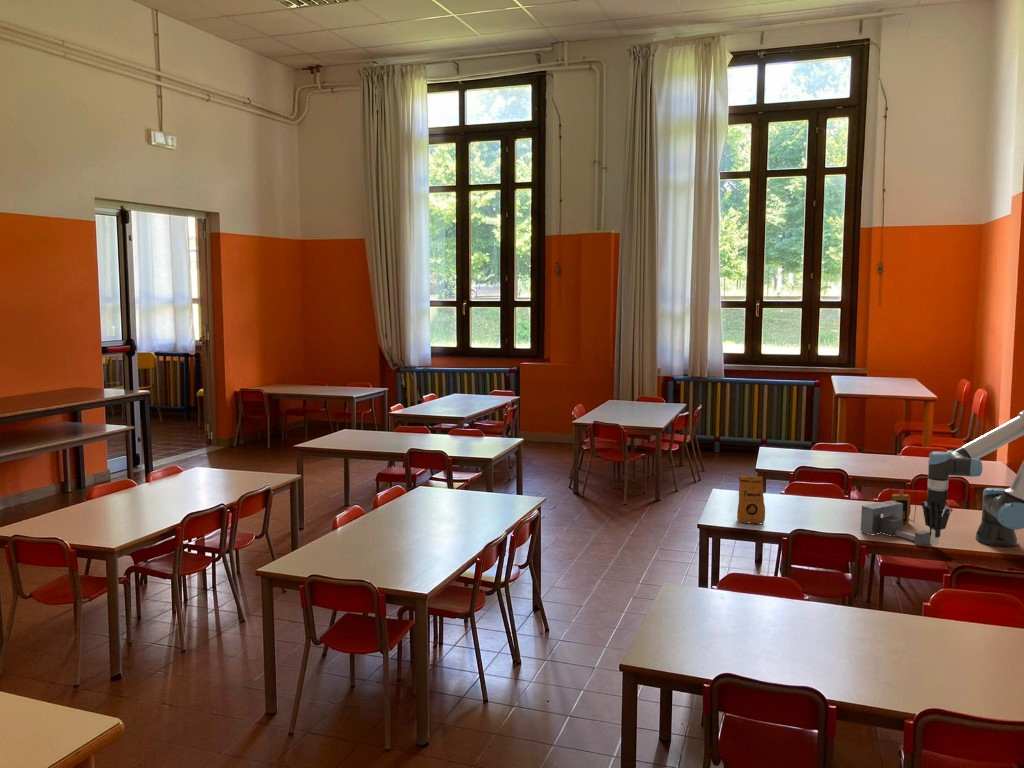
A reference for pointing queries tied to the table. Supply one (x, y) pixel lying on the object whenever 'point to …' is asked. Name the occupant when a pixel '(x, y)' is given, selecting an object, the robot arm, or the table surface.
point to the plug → (895, 527)
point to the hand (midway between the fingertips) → (934, 544)
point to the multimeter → (905, 500)
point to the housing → (878, 515)
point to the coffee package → (751, 500)
